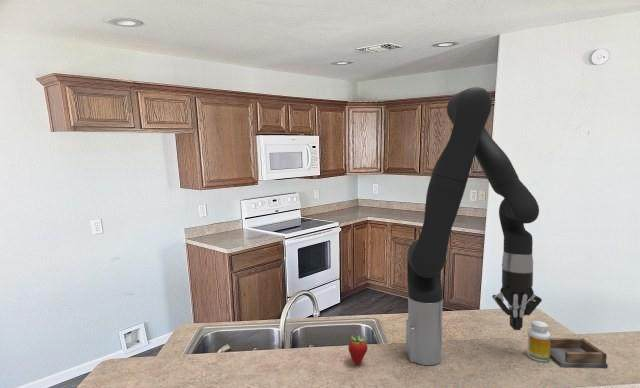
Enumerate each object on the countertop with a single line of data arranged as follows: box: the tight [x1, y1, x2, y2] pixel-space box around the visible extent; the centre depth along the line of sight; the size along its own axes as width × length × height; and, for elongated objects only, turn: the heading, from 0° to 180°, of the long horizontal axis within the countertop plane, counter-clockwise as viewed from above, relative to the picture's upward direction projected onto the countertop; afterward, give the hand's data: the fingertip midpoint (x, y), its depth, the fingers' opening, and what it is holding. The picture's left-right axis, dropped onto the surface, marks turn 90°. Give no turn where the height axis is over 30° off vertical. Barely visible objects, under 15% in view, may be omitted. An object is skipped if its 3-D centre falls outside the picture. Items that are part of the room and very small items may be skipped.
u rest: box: [550, 337, 609, 369], centre depth 99 cm, size 12×10×4 cm
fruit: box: [348, 334, 368, 365], centre depth 97 cm, size 5×5×8 cm
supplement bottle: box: [527, 320, 552, 363], centre depth 99 cm, size 5×5×10 cm
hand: (516, 328), depth 100 cm, fingers closed
